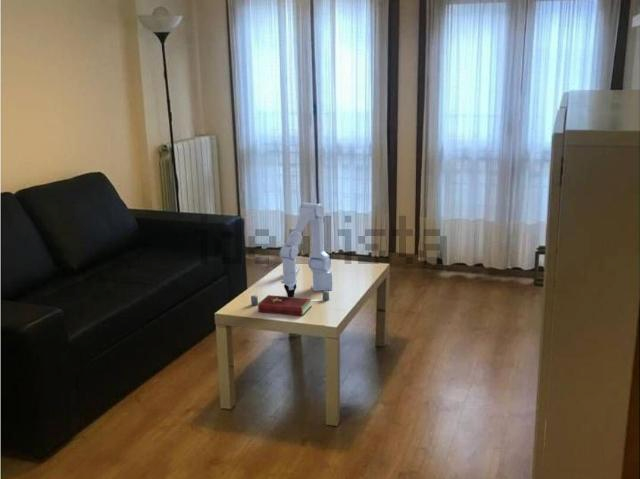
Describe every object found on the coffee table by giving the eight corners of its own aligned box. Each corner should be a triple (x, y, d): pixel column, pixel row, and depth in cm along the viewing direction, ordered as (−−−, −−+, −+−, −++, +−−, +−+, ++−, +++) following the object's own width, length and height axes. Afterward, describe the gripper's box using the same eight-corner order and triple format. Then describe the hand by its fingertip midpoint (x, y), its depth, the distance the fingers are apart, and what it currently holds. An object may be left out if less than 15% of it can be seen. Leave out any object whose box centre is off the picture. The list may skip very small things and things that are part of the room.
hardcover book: (302, 316, 285) (302, 307, 284) (258, 312, 291) (257, 303, 290) (311, 306, 296) (311, 298, 295) (268, 303, 302) (268, 294, 301)
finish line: (328, 298, 306) (328, 290, 305) (329, 300, 303) (329, 292, 302) (251, 303, 302) (250, 295, 301) (251, 306, 299) (251, 297, 298)
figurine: (301, 273, 346) (299, 246, 342) (297, 279, 337) (295, 250, 333) (287, 273, 347) (286, 245, 343) (283, 278, 338) (282, 250, 334)
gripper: (279, 267, 303) (281, 295, 307) (281, 277, 289) (283, 306, 293) (294, 266, 304) (296, 294, 307) (297, 275, 290) (298, 304, 293)
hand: (290, 300), depth 300 cm, fingers closed
